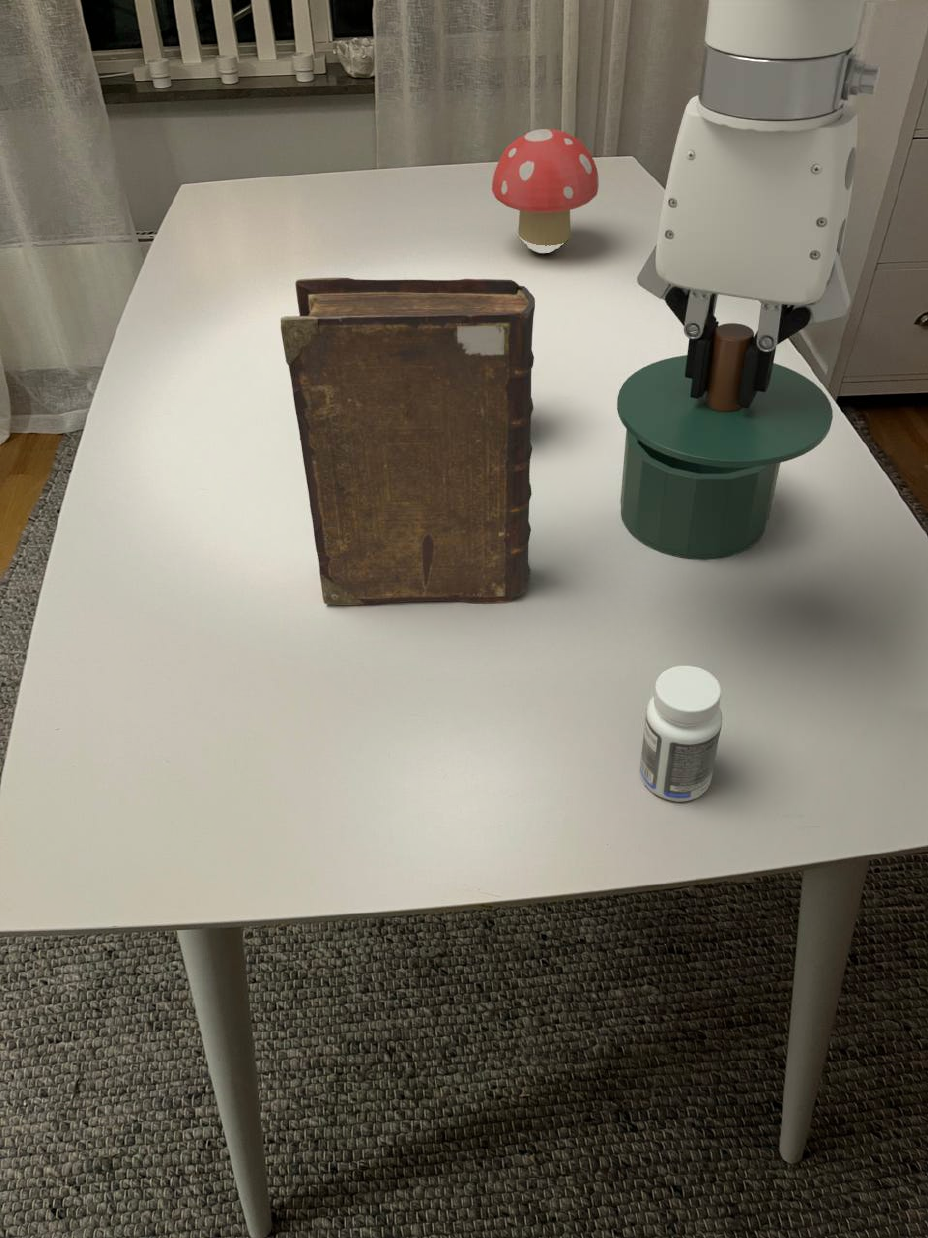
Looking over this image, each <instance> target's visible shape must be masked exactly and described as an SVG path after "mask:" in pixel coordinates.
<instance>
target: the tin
mask: <svg viewBox="0 0 928 1238" xmlns="http://www.w3.org/2000/svg"><path fill="white" fill-rule="evenodd" d="M623 454H624V455H623V465H622V467H623V468H622V478H621V490H620V500H619V501H620V516H621V517H620V518H621V520H622V522H623V525H624V526H625V528H626V530H627V531H628V532H629V533H630V534H631V535H632V536H633V537H634V538H635V539H636V540H637V541H639V542H640V543H642V544H643V545H645V546H646V547H649V548H651V549H653V550H655V551H658V552H660V553H663V554H666V555H670V556H674V557H679V558H686V559H694V560H710V559H718V558H721V559H722V558H726V557H730V556H734V555H737V554H739V553H742V552H744V551H745V550H747V549H749V548H751V547H752V546H754V545H755V544H756V543H757V542H759V540H761V538H762V537H763V535H764V533H765V531H766V528H767V524H768V521H769V519H770V516H771V510H772V506H773V500H774V497H775V491H776V485H777V481H778V476H779V472H780V467H781V463H777V464H772V465H766V466H757V467H739V468H737V467H718V466H709V465H703V464H697V463H692V462H688V461H684V460H680V459H677V458H674V457H671V456H668V455H666V454H663V453H661V452H659V451H656V450H654V449H652V448H651V447H649V446H647V445H645V444H644V443H642V442H641V441H639V440H638V439H637V438H635V437H634V436H633V435H632V434H631V433H630V432H629V431H628V430H627V429H626V431H625V443H624V453H623Z"/></svg>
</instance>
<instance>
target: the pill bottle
mask: <svg viewBox="0 0 928 1238" xmlns="http://www.w3.org/2000/svg"><path fill="white" fill-rule="evenodd" d="M655 681H656V682H655V685H654V692H653V695H652V696H651V698H650V699H649V701H648V703H647V706H646V708H645V709H646V710H645V718H644V719H645V720H644V727H643V728H644V729H643V734H642V735H643V737H642V745H641V752H640V762H639V774H640V778H641V780H642V783H643V785H644V786H645V787H646V788H647V789H648V790H649V791H650V792H651V793H652V794H654V795H656V796H657V797H659V798H661V799H663V800H667V801H671V802H677V803H679V802H689V801H692V800H695V799H697V798H700V797H701V796H702V795H703V794H704V793H705V792H706V791H707V790H708V788H710V787H709V786H710V784H711V782H712V778H713V773H714V767H715V762H716V758H717V753H718V752H717V751H718V746H719V740H720V735H721V730H722V726H723V712H722V709H721V707H720V706H721V697H722V687H721V684H720V682H719V681H718V680H717V678H716V677H715V676H714V675H713V674H712V673H710V672H709V671H708V670H705V669H703V668H701V667H698V666H692V665H677V666H671V667H670V668H666V669H665V670H664V671H663V672H661V674H659V676H658V677H657V679H656V680H655Z"/></svg>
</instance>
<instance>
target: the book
mask: <svg viewBox="0 0 928 1238" xmlns="http://www.w3.org/2000/svg"><path fill="white" fill-rule="evenodd" d="M295 292H296V301H297V306H298V315H289V316H288V315H287V316H281V317H280V332H281V338H282V339H281V340H282V345H283V351H284V357H285V363H286V364H287V365H288V370H289V376H290V382H291V388H292V389H291V390H292V397H293V403H294V411H295V415H296V419H297V427H298V433H299V440H300V447H301V453H302V461H303V467H304V473H305V479H306V485H307V492H308V499H309V508H310V514H311V520H312V527H313V528H312V529H313V535H314V536H313V537H314V543H315V550H316V553H317V560H318V561H317V562H318V568H319V569H318V570H319V581H320V587H321V595H322V600H323V604H325V605H337V606H355V605H377V604H384V603H385V604H386V603H387V604H388V603H407V602H437V601H438V602H439V601H441V602H444V601H445V602H446V601H448V602H449V601H451V602H452V601H455V602H467V603H472V604H473V603H475V604H482V603H483V604H486V603H489V604H490V603H491V604H494V603H508V602H510V601H512V599H514V598H518V597H521V596H522V594H523V593H524V592H526V589H527V587H528V585H529V582H530V579H531V567H530V564H529V542H530V538H531V531H532V527H531V524H530V501H531V497H532V494H533V493H532V486H531V481H530V477H531V476H530V474H531V473H530V472H531V471H530V470H531V458H532V453H533V445H532V442H531V433H532V432H531V431H532V428H531V427H532V415H533V410H534V402H533V397H532V370H533V369H532V368H533V367H534V362H535V361H534V360H535V356H534V353H533V330H534V329H533V328H534V317H535V309H536V299H535V297H534V295H533V294H532V293H531V292H530V290H528V288H527V287H526V286H524V285H519V283H517V282H516V281H515V280H513V279H496V278H495V279H492V278H478V279H477V278H462V279H359V278H358V279H357V278H356V279H354V278H352V277H351V278H350V277H316V278H313V277H312V278H300V279H296V281H295Z"/></svg>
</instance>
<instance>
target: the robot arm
mask: <svg viewBox="0 0 928 1238" xmlns="http://www.w3.org/2000/svg"><path fill="white" fill-rule="evenodd" d="M900 1H901V0H708V6H707V14H706V15H707V17H706V24H705V35H704V42H703V51H702V60H701V68H700V78H699V85H698V86H699V89H698V94H697V95H695V96H692V98H691V99H689V101H688V103H687V104H686V106H685V109H684V112H683V114H682V118H681V122H680V125H679V129H678V133H677V136H676V140H675V144H674V148H673V152H672V156H671V161H670V165H669V169H668V170H669V171H668V175H667V181H666V185H665V190H664V197H663V202H662V206H661V213H660V218H659V225H658V230H657V238H656V244H655V246H654V247H653V249H652V251H651V253H650V254H649V256H648V258H647V260H646V261H645V263H644V265H643V266H642V268H641V270H640V271H639V273H638V275H637V278H636V280H637V281H636V282H637V283H638V286H640V287H641V288H643V289H644V290H645V291H647V292H649V293H650V294H651V295H653V296H655V297H657V298H658V299H660V300H663V301H664V302H665V304H666V305H667V307H668V308H669V310H670V311H671V312H672V313H673V315H675V317H676V318H677V320H678V321H679V323H681V325H682V326H683V334H684V335H685V337H687V338H688V345H687V354H686V355H687V361H686V369H685V377H686V378H691V379H692V386H691V394H690V397H691V398H696V399H699V398H700V397H703V395H704V394H705V392H706V389H707V382H708V374H709V367H710V360H711V353H712V346H713V339H714V332H715V329H716V328H717V327H718V326H720V325H719V324H720V322H719V321H717V317H716V316H715V313H716V308H717V302H718V297H719V295H721V296H726V297H732V298H739V299H747V300H752V301H758V302H761V303H760V309H759V310H760V311H759V316H758V317H759V318H758V325H757V330H756V331H755V332H756V333H754V338H753V342H752V343H751V344H750V346H749V347H748V349H747V351H746V355H745V361H744V367H743V374H742V380H741V386H740V392H739V398H738V405H740V407H742V408H747V409H749V407H750V405H751V403H752V401H753V399H754V397H755V395H756V393H757V391H760V392H766V390H767V388H768V385H769V382H770V378H771V373H772V368H773V363H775V357H776V351H777V346H778V345H779V344H781V343H783V342H784V341H786V340H787V339H789V338H790V337H792V336H794V335H796V334H797V333H799V332H800V331H802V330H803V329H805V328H806V327H807V326H811V325H817V324H821V323H825V322H829V321H834V320H837V319H841V318H843V317H844V316H846V314H847V312H848V309H849V308H850V305H851V297H850V293H849V289H848V285H847V281H846V277H845V273H844V269H843V265H842V261H841V256H842V255H841V254H842V249H843V246H844V240H845V235H846V228H847V222H848V216H849V210H850V205H851V198H852V191H853V183H854V177H855V167H856V158H857V146H858V145H857V144H858V111H857V109H856V108H855V107H853V106H852V105H849V104H845V101H849V100H850V98H851V96H859V95H860V93H861V94H869V95H870V94H872V95H874V94H875V92H876V90H877V86H878V82H879V78H880V73H881V66H882V65H881V64H880V63H879V64H878V63H867V60H866V59H860V58H861V57H860V56H861V53H857V49H858V44H859V43H858V42H857V38H858V34H859V33H858V32H859V27H860V23H861V17H862V12H863V7H864V3H892V2H893V3H894V2H900Z"/></svg>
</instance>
